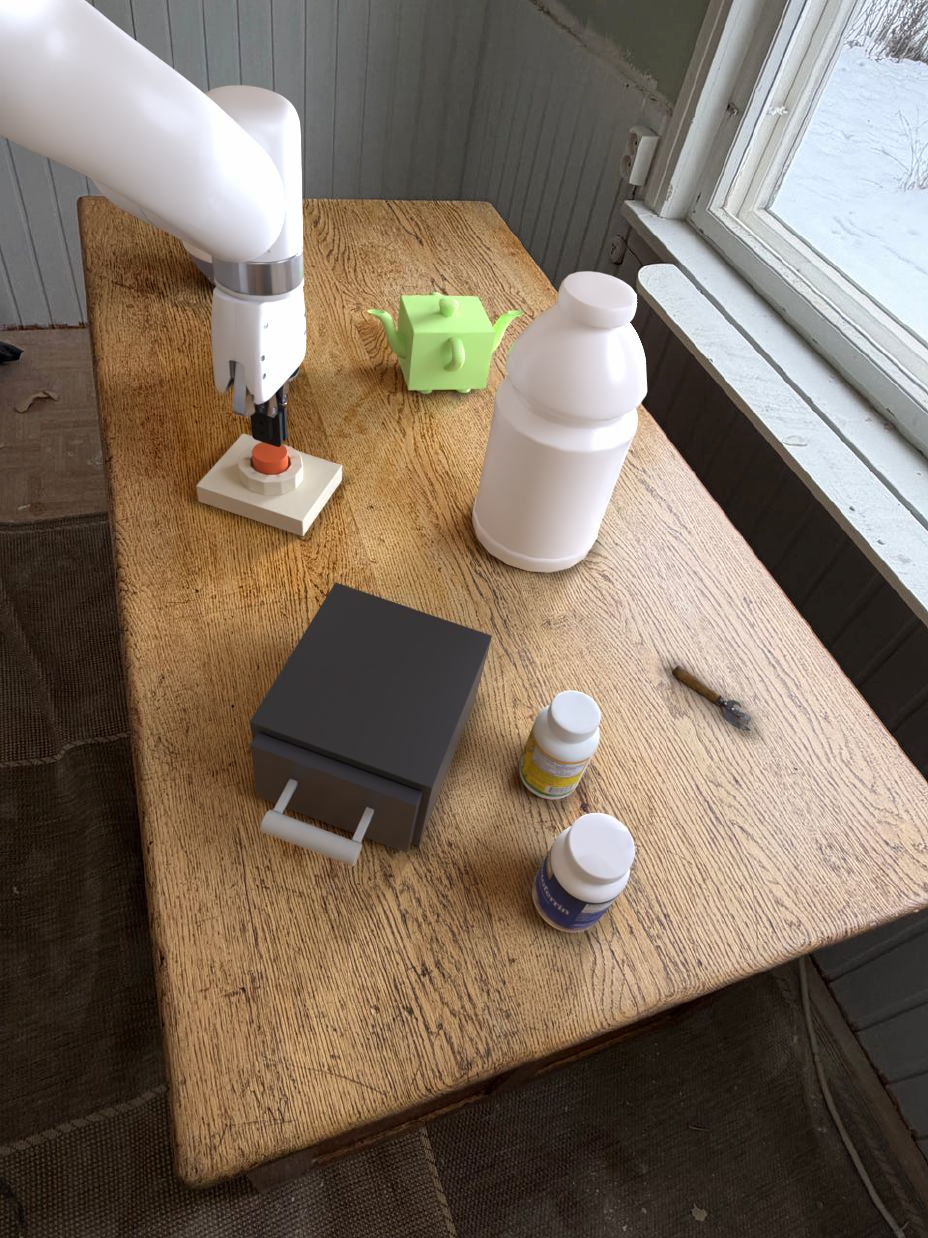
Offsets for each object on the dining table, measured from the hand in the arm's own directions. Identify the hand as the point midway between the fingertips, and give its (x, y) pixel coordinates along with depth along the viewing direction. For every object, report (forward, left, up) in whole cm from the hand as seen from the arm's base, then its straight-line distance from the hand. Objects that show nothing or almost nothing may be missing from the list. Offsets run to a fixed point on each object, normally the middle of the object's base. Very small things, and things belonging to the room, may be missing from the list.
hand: (270, 438), depth 80 cm
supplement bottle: (+37, -22, -7) cm, 44 cm away
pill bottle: (+41, -32, -7) cm, 53 cm away
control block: (0, 0, -7) cm, 7 cm away
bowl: (-25, +39, -7) cm, 47 cm away
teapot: (+9, +30, -7) cm, 32 cm away
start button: (0, 0, -3) cm, 3 cm away
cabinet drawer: (+22, -29, -6) cm, 37 cm away
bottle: (+28, +7, -7) cm, 30 cm away
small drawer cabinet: (+22, -25, -7) cm, 34 cm away
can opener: (+50, -8, -7) cm, 51 cm away
